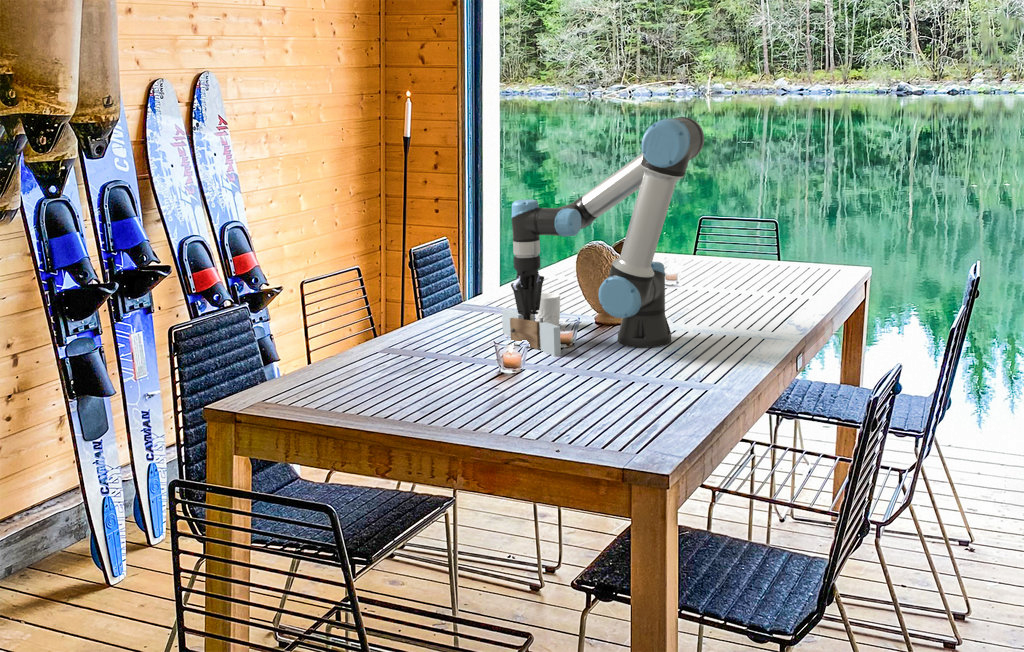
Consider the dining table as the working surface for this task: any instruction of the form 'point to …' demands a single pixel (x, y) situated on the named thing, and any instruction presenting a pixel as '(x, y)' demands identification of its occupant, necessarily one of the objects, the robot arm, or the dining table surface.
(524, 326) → the door
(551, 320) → the white cup
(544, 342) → the wall frame
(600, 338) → the dining table surface
